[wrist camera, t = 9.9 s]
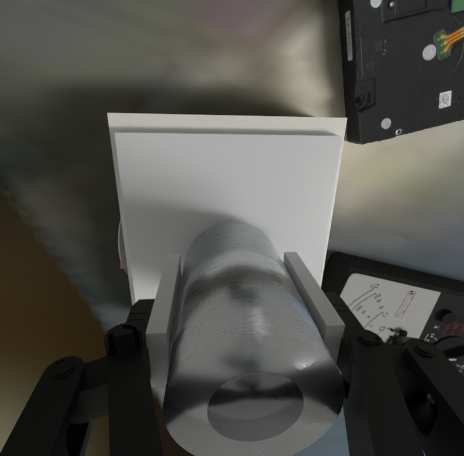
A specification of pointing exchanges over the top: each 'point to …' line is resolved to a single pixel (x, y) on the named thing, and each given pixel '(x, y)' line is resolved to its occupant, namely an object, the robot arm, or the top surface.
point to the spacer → (246, 353)
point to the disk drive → (401, 66)
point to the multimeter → (400, 302)
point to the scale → (221, 185)
